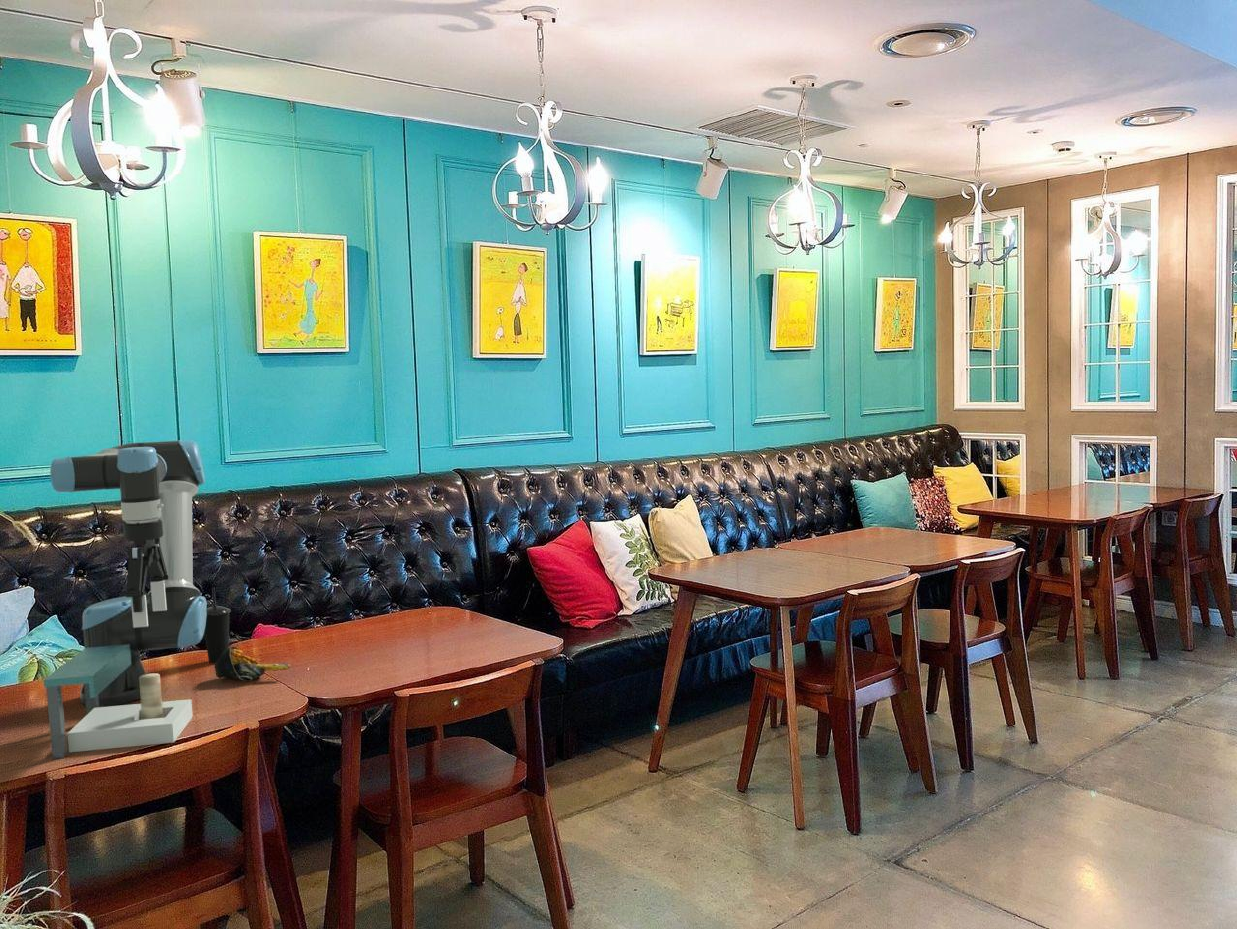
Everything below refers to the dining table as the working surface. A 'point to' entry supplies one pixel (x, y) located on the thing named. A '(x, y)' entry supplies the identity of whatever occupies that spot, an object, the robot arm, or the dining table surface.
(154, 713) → the wooden peg
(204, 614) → the robot arm
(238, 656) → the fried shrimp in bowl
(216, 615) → the drinking cup
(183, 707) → the socket block
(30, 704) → the dining table surface
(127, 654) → the teal miniature table
